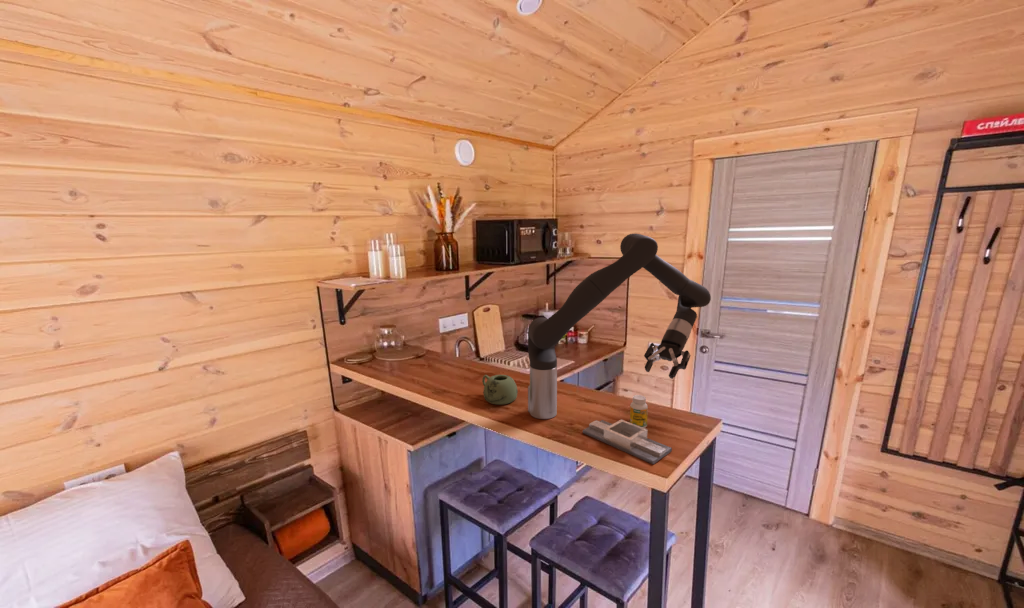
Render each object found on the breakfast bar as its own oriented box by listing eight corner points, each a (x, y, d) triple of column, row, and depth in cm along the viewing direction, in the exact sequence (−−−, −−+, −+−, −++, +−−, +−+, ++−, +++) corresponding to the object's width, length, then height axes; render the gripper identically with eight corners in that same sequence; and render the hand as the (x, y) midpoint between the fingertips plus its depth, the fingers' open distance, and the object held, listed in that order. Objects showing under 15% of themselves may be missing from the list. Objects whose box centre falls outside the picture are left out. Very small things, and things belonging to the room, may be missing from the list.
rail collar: (582, 432, 129) (582, 421, 129) (602, 422, 136) (602, 411, 135) (653, 464, 112) (654, 451, 111) (671, 451, 118) (672, 438, 117)
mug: (524, 398, 156) (524, 376, 154) (501, 409, 147) (500, 386, 145) (494, 388, 167) (494, 367, 165) (470, 397, 157) (470, 376, 156)
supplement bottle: (645, 421, 136) (646, 394, 134) (648, 429, 131) (649, 401, 129) (628, 420, 137) (629, 393, 135) (630, 428, 132) (631, 400, 130)
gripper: (654, 325, 147) (635, 363, 142) (694, 332, 136) (675, 373, 131) (661, 336, 151) (643, 374, 146) (700, 344, 141) (682, 385, 136)
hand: (658, 374), depth 139 cm, fingers open, 8 cm apart
